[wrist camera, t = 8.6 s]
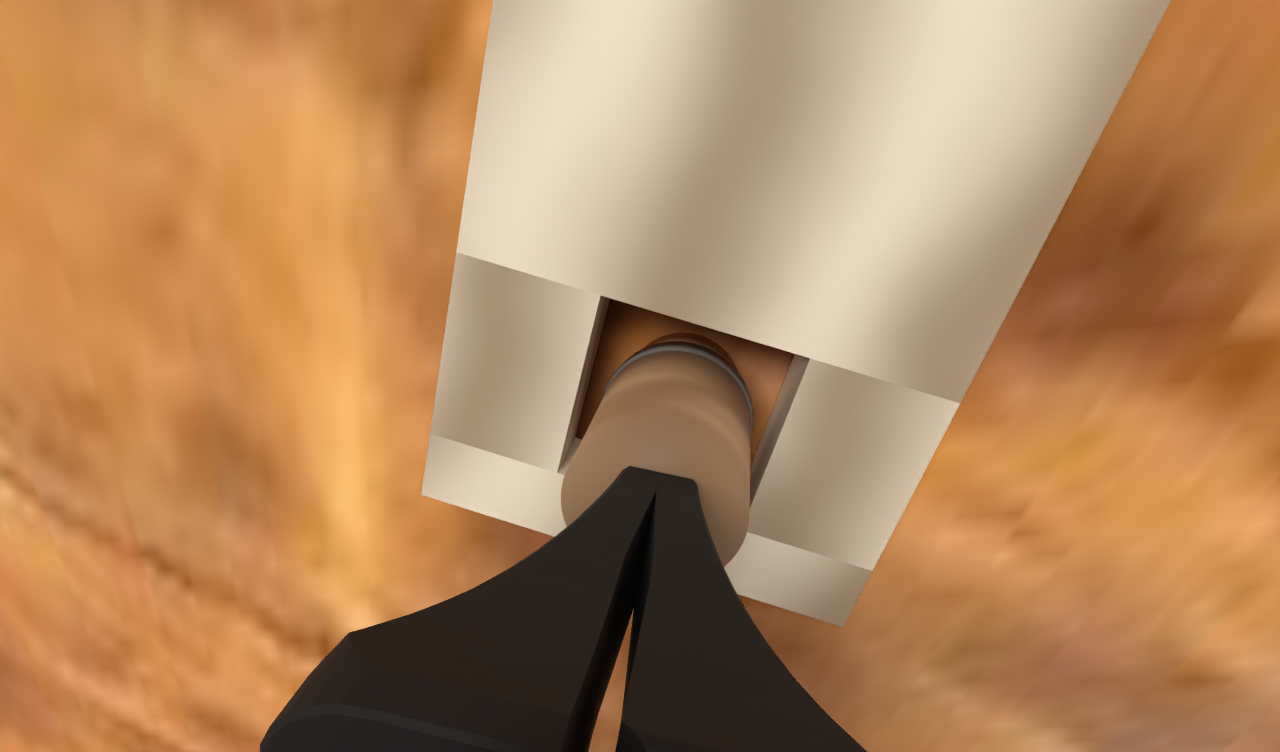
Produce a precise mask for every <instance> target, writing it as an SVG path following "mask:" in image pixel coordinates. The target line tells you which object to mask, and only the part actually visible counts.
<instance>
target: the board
mask: <svg viewBox="0 0 1280 752" xmlns="http://www.w3.org/2000/svg"><path fill="white" fill-rule="evenodd" d="M1170 1H1171V0H493V4H492V11H491V18H490V25H489V31H488V38H487V45H486V52H485V59H484V66H483V73H482V80H481V87H480V94H479V100H478V107H477V114H476V121H475V128H474V135H473V142H472V149H471V156H470V162H469V169H468V176H467V183H466V190H465V197H464V204H463V211H462V218H461V225H460V231H459V238H458V245H457V252H456V259H455V266H454V273H453V280H452V287H451V294H450V300H449V307H448V314H447V321H446V328H445V335H444V342H443V349H442V356H441V362H440V369H439V376H438V383H437V390H436V397H435V404H434V411H433V418H432V425H431V431H430V438H429V445H428V452H427V459H426V466H425V473H424V480H423V487H422V493H421V495H424V496H427V497H430V498H434V499H437V500H440V501H443V502H446V503H449V504H453V505H456V506H459V507H462V508H465V509H469V510H472V511H475V512H478V513H481V514H484V515H488V516H491V517H494V518H497V519H500V520H504V521H507V522H510V523H513V524H516V525H519V526H523V527H526V528H529V529H532V530H535V531H538V532H542V533H545V534H548V535H551V536H554V537H555V536H556V535H557V534H559V533H560V532H561V531H562V530H564V529H565V528H566V527H567V526H566V524H565V521H564V518H563V513H562V509H561V488H562V483H563V479H564V476H565V474H566V471H567V469H568V467H569V465H570V463H571V461H572V459H573V457H574V455H575V453H576V451H577V449H578V447H579V445H580V443H581V441H582V439H580V438H577V437H575V436H576V432H577V428H578V424H579V420H580V416H581V412H582V408H583V405H584V401H585V397H586V393H587V389H588V385H589V381H590V377H591V373H592V369H593V365H594V361H595V357H596V353H597V349H598V345H599V341H600V337H601V333H602V329H603V325H604V321H605V317H606V313H607V309H608V305H609V302H610V298H611V299H614V300H618V301H621V302H624V303H628V304H631V305H634V306H638V307H641V308H644V309H648V310H651V311H654V312H658V313H661V314H664V315H668V316H671V317H674V318H677V319H681V320H684V321H687V322H691V323H694V324H697V325H701V326H704V327H707V328H711V329H714V330H717V331H721V332H724V333H727V334H731V335H734V336H737V337H741V338H744V339H747V340H751V341H754V342H757V343H761V344H764V345H767V346H771V347H774V348H777V349H781V350H784V351H787V352H791V353H794V356H793V359H792V362H791V364H790V367H789V369H788V372H787V374H786V377H785V379H784V382H783V385H782V387H781V390H780V392H779V395H778V397H777V400H776V403H775V405H774V408H773V410H772V413H771V415H770V418H769V421H768V423H767V426H766V428H765V431H764V433H763V436H762V438H761V441H760V444H759V446H758V449H757V451H756V454H755V456H754V459H753V462H752V464H751V467H750V513H749V525H748V530H747V534H746V537H745V539H744V542H743V544H742V546H741V547H740V549H739V551H738V552H737V554H736V555H735V556H734V558H733V559H732V560H731V561H730V562H729V563H728V564H727V565H726V566H725V567H724V569H725V571H726V573H727V575H728V577H729V579H730V581H731V583H732V585H733V587H734V589H735V591H736V593H737V594H739V595H742V596H745V597H748V598H752V599H755V600H758V601H761V602H764V603H767V604H771V605H774V606H777V607H780V608H783V609H787V610H790V611H793V612H796V613H799V614H802V615H806V616H809V617H812V618H815V619H818V620H822V621H825V622H828V623H831V624H834V625H837V626H841V627H843V626H844V624H845V622H846V621H847V619H848V617H849V615H850V613H851V611H852V609H853V607H854V605H855V603H856V601H857V600H858V598H859V596H860V594H861V592H862V590H863V588H864V586H865V584H866V582H867V580H868V579H869V577H870V575H871V573H872V571H873V569H874V567H875V565H876V563H877V561H878V559H879V557H880V556H881V554H882V552H883V550H884V548H885V546H886V544H887V542H888V540H889V538H890V536H891V535H892V533H893V531H894V529H895V527H896V525H897V523H898V521H899V519H900V517H901V515H902V514H903V512H904V510H905V508H906V506H907V504H908V502H909V500H910V498H911V496H912V494H913V493H914V491H915V489H916V487H917V485H918V483H919V481H920V479H921V477H922V475H923V473H924V471H925V470H926V468H927V466H928V464H929V462H930V460H931V458H932V456H933V454H934V452H935V450H936V449H937V447H938V445H939V443H940V441H941V439H942V437H943V435H944V433H945V431H946V429H947V428H948V426H949V424H950V422H951V420H952V418H953V416H954V414H955V412H956V410H957V408H958V407H959V405H960V403H961V401H962V399H963V397H964V395H965V393H966V391H967V389H968V387H969V386H970V384H971V382H972V380H973V378H974V376H975V374H976V372H977V370H978V368H979V366H980V364H981V363H982V361H983V359H984V357H985V355H986V353H987V351H988V349H989V347H990V345H991V343H992V342H993V340H994V338H995V336H996V334H997V332H998V330H999V328H1000V326H1001V324H1002V322H1003V321H1004V319H1005V317H1006V315H1007V313H1008V311H1009V309H1010V307H1011V305H1012V303H1013V301H1014V300H1015V298H1016V296H1017V294H1018V292H1019V290H1020V288H1021V286H1022V284H1023V282H1024V280H1025V278H1026V277H1027V275H1028V273H1029V271H1030V269H1031V267H1032V265H1033V263H1034V261H1035V259H1036V257H1037V256H1038V254H1039V252H1040V250H1041V248H1042V246H1043V244H1044V242H1045V240H1046V238H1047V236H1048V235H1049V233H1050V231H1051V229H1052V227H1053V225H1054V223H1055V221H1056V219H1057V217H1058V215H1059V214H1060V212H1061V210H1062V208H1063V206H1064V204H1065V202H1066V200H1067V198H1068V196H1069V194H1070V192H1071V191H1072V189H1073V187H1074V185H1075V183H1076V181H1077V179H1078V177H1079V175H1080V173H1081V171H1082V170H1083V168H1084V166H1085V164H1086V162H1087V160H1088V158H1089V156H1090V154H1091V152H1092V150H1093V149H1094V147H1095V145H1096V143H1097V141H1098V139H1099V137H1100V135H1101V133H1102V131H1103V129H1104V128H1105V126H1106V124H1107V122H1108V120H1109V118H1110V116H1111V114H1112V112H1113V110H1114V108H1115V107H1116V105H1117V103H1118V101H1119V99H1120V97H1121V95H1122V93H1123V91H1124V89H1125V87H1126V85H1127V84H1128V82H1129V80H1130V78H1131V76H1132V74H1133V72H1134V70H1135V68H1136V66H1137V64H1138V63H1139V61H1140V59H1141V57H1142V55H1143V53H1144V51H1145V49H1146V47H1147V45H1148V43H1149V42H1150V40H1151V38H1152V36H1153V34H1154V32H1155V30H1156V28H1157V26H1158V24H1159V22H1160V21H1161V19H1162V17H1163V15H1164V13H1165V11H1166V9H1167V7H1168V5H1169V3H1170Z"/></svg>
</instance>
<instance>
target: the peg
mask: <svg viewBox="0 0 1280 752" xmlns="http://www.w3.org/2000/svg"><path fill="white" fill-rule="evenodd" d="M752 429H753V409H752V403H751V399H750V395H749V393H748V389H747V387H746V385H745V382H744V380H743V379H742V377H741V375H740V374H739V372H738V371H737V368H736V366H735V364H734V362H733V360H732V359H731V357H730V356H729V355H728V353H727V352H726V351H725V350H724V349H723V348H722V347H721V346H719V345H718V344H717V343H715V342H713V341H712V340H710V339H708V338H705V337H703V336H700V335H696V334H690V333H675V334H669V335H665V336H663V337H660V338H658V339H656V340H654V341H652V342H651V343H649V344H648V345H647V346H646V347H645V348H643V349H641V350H640V351H638V352H636V353H635V354H633V355H632V356H631V357H629V358H628V359H627V360H626V361H625V362H624V363H623V364H622V365H621V366H620V367H619V368H618V369H617V371H616V372H615V373H614V374H613V376H612V378H611V380H610V381H609V383H608V385H607V387H606V390H605V392H604V395H603V399H602V402H601V404H600V405H599V407H598V409H597V411H596V413H595V415H594V417H593V419H592V421H591V423H590V425H589V427H588V429H587V431H586V433H585V435H584V437H583V439H582V441H581V443H580V445H579V447H578V449H577V451H576V453H575V455H574V457H573V459H572V461H571V463H570V465H569V467H568V469H567V471H566V474H565V476H564V479H563V483H562V488H561V509H562V513H563V518H564V521H565V524H566V526H569V525H570V524H571V523H572V522H573V521H575V520H576V519H577V518H578V517H579V516H580V515H581V514H582V513H583V512H584V511H585V510H586V509H587V508H588V507H590V506H591V505H592V504H593V503H594V502H595V501H596V500H597V499H598V498H599V497H600V496H601V495H602V494H603V493H604V492H605V490H606V489H607V488H608V487H609V486H610V485H611V484H612V483H613V482H614V480H615V479H616V478H617V477H618V475H619V474H620V473H621V471H622V470H623V469H625V468H626V467H628V466H633V467H638V468H642V469H647V470H652V471H656V472H661V473H666V474H670V475H675V476H680V477H685V478H689V479H693V480H694V481H695V483H696V484H697V486H698V492H699V498H700V503H701V506H702V510H703V514H704V517H705V520H706V523H707V526H708V529H709V532H710V535H711V537H712V540H713V543H714V545H715V548H716V550H717V553H718V555H719V558H720V560H721V562H722V564H723V567H725V566H726V565H727V564H728V563H729V562H730V561H731V560H732V559H733V558H734V556H735V555H736V554H737V552H738V551H739V549H740V547H741V546H742V544H743V542H744V539H745V537H746V534H747V530H748V525H749V513H750V443H751V434H752Z"/></svg>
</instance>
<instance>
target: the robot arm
mask: <svg viewBox="0 0 1280 752" xmlns="http://www.w3.org/2000/svg"><path fill="white" fill-rule="evenodd" d="M633 608H634V611H633ZM632 611H633V620H632V629H631V638H630V647H629V656H628V665H627V674H626V683H625V692H624V701H623V710H622V718H621V725H620V731H619V736H618V741H617V746H616V751H615V752H867V751H866V750H865V749H864V748H862V747H861V746H860V745H859V744H858V743H857V742H856V741H855V740H854V739H853V738H852V737H851V736H850V735H849V734H848V733H847V732H846V731H845V730H843V729H842V728H841V727H840V726H839V725H838V724H837V723H836V722H835V721H834V720H833V719H832V718H831V717H830V716H829V715H828V714H827V713H826V712H825V711H824V710H823V709H822V708H821V707H820V706H819V705H818V704H817V703H816V702H815V700H814V699H813V698H812V697H811V696H810V695H809V694H808V693H807V692H806V691H805V689H804V688H803V687H802V686H801V685H800V684H799V683H798V682H797V681H796V679H795V678H794V677H793V676H792V674H791V673H790V672H789V671H788V669H787V668H786V667H785V665H784V664H783V663H782V662H781V660H780V659H779V658H778V656H777V655H776V654H775V653H774V651H773V650H772V649H771V647H770V646H769V645H768V643H767V642H766V640H765V639H764V637H763V636H762V634H761V633H760V631H759V630H758V628H757V627H756V625H755V624H754V622H753V621H752V619H751V617H750V616H749V614H748V612H747V611H746V609H745V607H744V606H743V604H742V602H741V600H740V599H739V597H738V595H737V593H736V591H735V589H734V587H733V585H732V583H731V581H730V579H729V577H728V575H727V573H726V571H725V569H724V567H723V564H722V562H721V560H720V558H719V555H718V553H717V550H716V548H715V545H714V543H713V540H712V537H711V535H710V532H709V529H708V526H707V523H706V520H705V517H704V514H703V510H702V506H701V503H700V498H699V492H698V486H697V484H696V483H695V481H694V480H693V479H689V478H685V477H680V476H675V475H670V474H666V473H661V472H656V471H652V470H647V469H642V468H638V467H633V466H628V467H626V468H625V469H623V470H622V471H621V473H620V474H619V475H618V477H617V478H616V479H615V480H614V482H613V483H612V484H611V485H610V486H609V487H608V488H607V489H606V490H605V492H604V493H603V494H602V495H601V496H600V497H599V498H598V499H597V500H596V501H595V502H594V503H593V504H592V505H591V506H590V507H588V508H587V509H586V510H585V511H584V512H583V513H582V514H581V515H580V516H579V517H578V518H577V519H576V520H575V521H573V522H572V523H571V524H570V525H569V526H567V527H566V528H565V529H564V530H562V531H561V532H560V533H559V534H557V535H556V536H555V537H554V538H553V539H551V540H550V541H549V542H547V543H546V544H545V545H543V546H542V547H541V548H539V549H538V550H536V551H535V552H534V553H532V554H531V555H529V556H528V557H526V558H525V559H523V560H522V561H520V562H518V563H517V564H515V565H514V566H512V567H511V568H509V569H507V570H505V571H504V572H502V573H500V574H498V575H497V576H495V577H493V578H491V579H490V580H488V581H486V582H484V583H482V584H480V585H479V586H477V587H475V588H473V589H471V590H469V591H466V592H464V593H462V594H460V595H457V596H455V597H453V598H451V599H448V600H446V601H443V602H441V603H438V604H436V605H433V606H431V607H428V608H426V609H423V610H420V611H418V612H415V613H412V614H409V615H406V616H403V617H400V618H397V619H393V620H390V621H387V622H384V623H381V624H377V625H374V626H371V627H368V628H364V629H361V630H357V631H354V632H350V633H348V634H347V635H346V636H345V637H344V638H343V639H342V641H341V642H340V643H339V644H338V645H337V646H336V647H335V648H334V649H333V650H332V651H331V652H330V653H329V654H328V655H327V656H326V657H325V658H324V659H323V660H322V661H321V662H320V664H319V665H318V666H317V667H316V668H315V669H314V670H313V671H312V672H311V674H310V675H309V676H308V677H307V678H306V680H305V681H304V682H303V684H302V685H301V686H300V688H299V689H298V690H297V692H296V693H295V694H294V696H293V697H292V698H291V699H290V701H289V702H288V703H287V705H286V706H285V707H284V709H283V710H282V711H281V713H280V714H279V715H278V717H277V718H276V719H275V720H274V722H273V723H272V724H271V726H270V727H269V729H268V731H267V733H266V735H265V736H264V738H263V740H262V742H261V744H260V752H588V750H589V746H590V742H591V738H592V734H593V730H594V727H595V724H596V720H597V717H598V713H599V710H600V707H601V704H602V701H603V698H604V695H605V692H606V689H607V686H608V683H609V680H610V677H611V674H612V671H613V668H614V665H615V662H616V659H617V656H618V653H619V650H620V647H621V644H622V641H623V638H624V635H625V632H626V629H627V626H628V623H629V620H630V617H631V614H632Z"/></svg>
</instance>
